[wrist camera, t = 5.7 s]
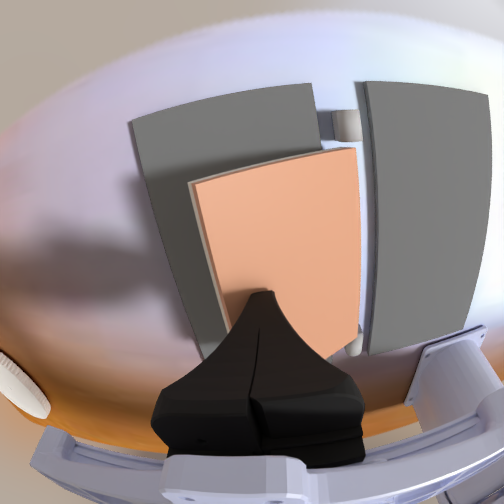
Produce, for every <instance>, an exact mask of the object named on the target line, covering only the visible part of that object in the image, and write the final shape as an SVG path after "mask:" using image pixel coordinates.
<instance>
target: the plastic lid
mask: <svg viewBox="0 0 504 504" xmlns="http://www.w3.org/2000/svg"><path fill="white" fill-rule="evenodd" d="M0 391H1V392H2V393H3V394H4V395H5V396H6V397H7V398H8V399H9V400H10V401H12V402H13V403H14V404H15V405H16V406H18V407H19V408H21V409H22V410H24V411H25V412H27V413H29V414H31V415H32V416H34V417H38V418H40V419H41V418H42V419H45V418H47V416H48V414H49V412H50V410H51V408H50V407H51V406H50V404H49V402H48V400H47V398H46V397H45V395H44V394H43V392H41V390H40V389H39V388H38V386H36V385H35V383H34V382H33V381H32V380H31V379H30V378H29V377H28V376H27V375H26V374H25V373H24V372H23V371H22V370H21V369H20V368H19V367H18V366H17V365H16V364H15V363H13V362H12V361H11V360H10V359H9V358H7V357H6V356H5V355H3V353H1V352H0Z"/></svg>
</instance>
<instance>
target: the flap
mask: <svg viewBox="0 0 504 504" xmlns="http://www.w3.org/2000/svg"><path fill="white" fill-rule="evenodd" d="M187 183H188V187H189V192H190V196H191V200H192V204H193V208H194V212H195V216H196V220H197V224H198V228H199V232H200V236H201V240H202V244H203V248H204V251H205V255H206V259H207V263H208V266H209V270H210V274H211V277H212V281H213V285H214V288H215V292H216V295H217V299H218V302H219V306H220V309H221V312H222V316H223V319H224V323H225V326H226V329H227V333H229V331H230V330H231V329H232V327H233V326H234V324H235V323H236V321H237V319H238V318H239V316H240V314H241V313H242V311H243V309H244V307H245V305H246V303H247V301H248V299H249V297H250V295H251V294H252V293H255V292H260V291H268V290H272V291H274V292H275V297H276V300H277V302H278V304H279V307H280V308H281V310H282V312H283V314H284V315H285V317H286V319H287V320H288V322H289V323H290V324H291V326H292V327H293V328H294V330H295V331H296V332H297V333H298V335H299V336H300V337H301V338H302V339H303V340H304V341H305V342H306V343H307V344H308V345H309V346H310V347H311V348H312V349H313V350H314V351H315V352H316V353H318V354H319V355H320V356H321V357H322V358H324V359H326V358H328V357H329V356H331V355H332V354H334V353H335V352H337V351H338V350H340V349H341V348H343V347H344V346H346V345H347V344H348V343H350V342H351V341H353V340H354V339H355V338H357V334H358V321H359V305H360V281H361V220H360V197H359V180H358V167H357V156H356V148H351V147H338V148H332V149H326V150H321V151H315V152H310V153H305V154H300V155H295V156H290V157H285V158H281V159H276V160H272V161H267V162H263V163H259V164H254V165H250V166H246V167H242V168H238V169H234V170H230V171H227V172H223V173H219V174H215V175H212V176H208V177H204V178H201V179H197V180H194V181H191V182H187Z"/></svg>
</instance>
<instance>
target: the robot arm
mask: <svg viewBox="0 0 504 504" xmlns="http://www.w3.org/2000/svg"><path fill="white" fill-rule="evenodd" d="M486 332H487V327H486V326H483V327H480V328H478V329H475V330H472V331H470V332H467V333H464V334H462V335H459V336H456V337H453V338H450V339H447V340H444V341H441V342H438V343H435V344H432V345H429V346H426V347H425V348H424V350H423V352H422V355H421V358H420V361H419V364H418V367H417V370H416V373H415V376H414V378H413V381H412V384H411V386H410V389H409V392H408V394H407V397H406V399H405V401H404V405H405V406H410V405H413V407H414V410H415V412H416V415H417V418H418V420H419V423H420V426H421V428H422V431H423V433H421V434H418V435H415V436H412V437H409V438H406V439H403V440H400V441H397V442H393V443H390V444H387V445H383V446H379V447H376V448H372V449H368V450H365V448H364V444H363V439H362V436H363V431H362V427H361V422H362V418H363V414H364V411H365V403H364V400H363V398H362V395H361V393H360V391H359V389H358V387H357V386H356V384H355V382H354V381H353V379H352V378H351V376H350V375H348V374H346V373H345V372H343V371H341V370H340V369H338V368H336V367H335V366H333V365H332V364H330V363H329V362H328V361H326V360H325V359H324V358H322V357H321V356H320V355H319V354H318V353H316V352H315V351H314V350H313V349H312V348H311V347H310V346H309V345H308V344H307V343H306V342H305V341H304V340H303V339H302V338H301V337H300V336H299V335H298V333H297V332H296V331H295V330H294V328H293V327H292V326H291V324H290V323H289V322H288V320H287V319H286V317H285V315H284V314H283V312H282V310H281V308H280V307H279V304H278V302H277V300H276V297H275V292H274V291H272V290H268V291H260V292H255V293H252V294H251V295H250V297H249V299H248V301H247V303H246V305H245V307H244V309H243V311H242V313H241V314H240V316H239V318H238V319H237V321H236V323H235V324H234V326H233V327H232V329H231V330H230V331H229V333H228V334H227V336H226V337H225V338H224V340H223V341H222V342H221V343H220V344H219V346H218V347H217V348H216V349H215V350H214V351H213V352H212V353H211V354H210V355H209V356H208V357H207V358H206V359H205V360H204V361H203V362H202V363H201V364H199V365H198V366H197V367H196V368H194V369H193V370H192V371H191V372H189V373H188V374H187V375H185V376H184V377H182V378H181V379H179V380H178V381H176V382H174V383H173V384H171V385H169V386H168V387H166V388H164V389H162V391H161V393H160V395H159V397H158V400H157V402H156V405H155V409H154V412H153V415H152V419H151V427H152V428H153V430H154V432H155V433H156V434H157V435H158V436H159V437H160V438H161V440H162V441H163V442H164V443H165V444H166V445H167V446H168V447H169V450H168V454H167V459H165V460H164V461H163V460H157V459H150V458H144V457H138V456H133V455H128V454H123V453H119V452H114V451H109V450H106V449H102V448H98V447H94V446H91V445H87V444H84V443H81V442H77V441H76V440H75V439H74V438H73V437H72V436H71V435H70V434H68V433H67V432H65V431H63V430H61V429H58V428H55V427H52V426H49V425H47V427H46V429H45V431H44V433H43V435H42V437H41V439H40V441H39V443H38V446H37V448H36V450H35V452H34V454H33V457H32V459H31V462H30V466H31V467H33V468H34V469H36V470H37V471H38V472H40V473H41V474H42V475H44V476H45V477H47V478H48V479H50V480H51V481H53V482H54V483H56V484H58V485H59V486H61V487H63V488H64V489H66V490H68V491H70V492H73V493H75V494H77V495H80V496H82V497H84V498H86V499H89V500H91V501H94V502H96V503H99V504H417V503H420V502H422V501H424V500H427V499H429V498H431V497H433V496H435V495H436V498H437V500H438V502H439V504H504V487H503V486H504V386H503V384H502V383H501V381H500V379H499V378H498V376H497V374H496V373H495V371H494V370H493V368H492V367H491V365H490V364H489V362H488V361H487V359H486V358H485V356H484V355H483V353H482V352H481V350H480V347H481V344H482V342H483V340H484V337H485V335H486ZM502 487H503V488H502ZM500 488H501V489H500ZM499 489H500V490H499ZM497 490H498V491H497ZM496 491H497V492H496ZM494 492H496V493H494ZM492 493H493V494H492ZM491 494H492V495H491ZM489 495H490V496H489ZM488 496H489V497H488Z"/></svg>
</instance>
